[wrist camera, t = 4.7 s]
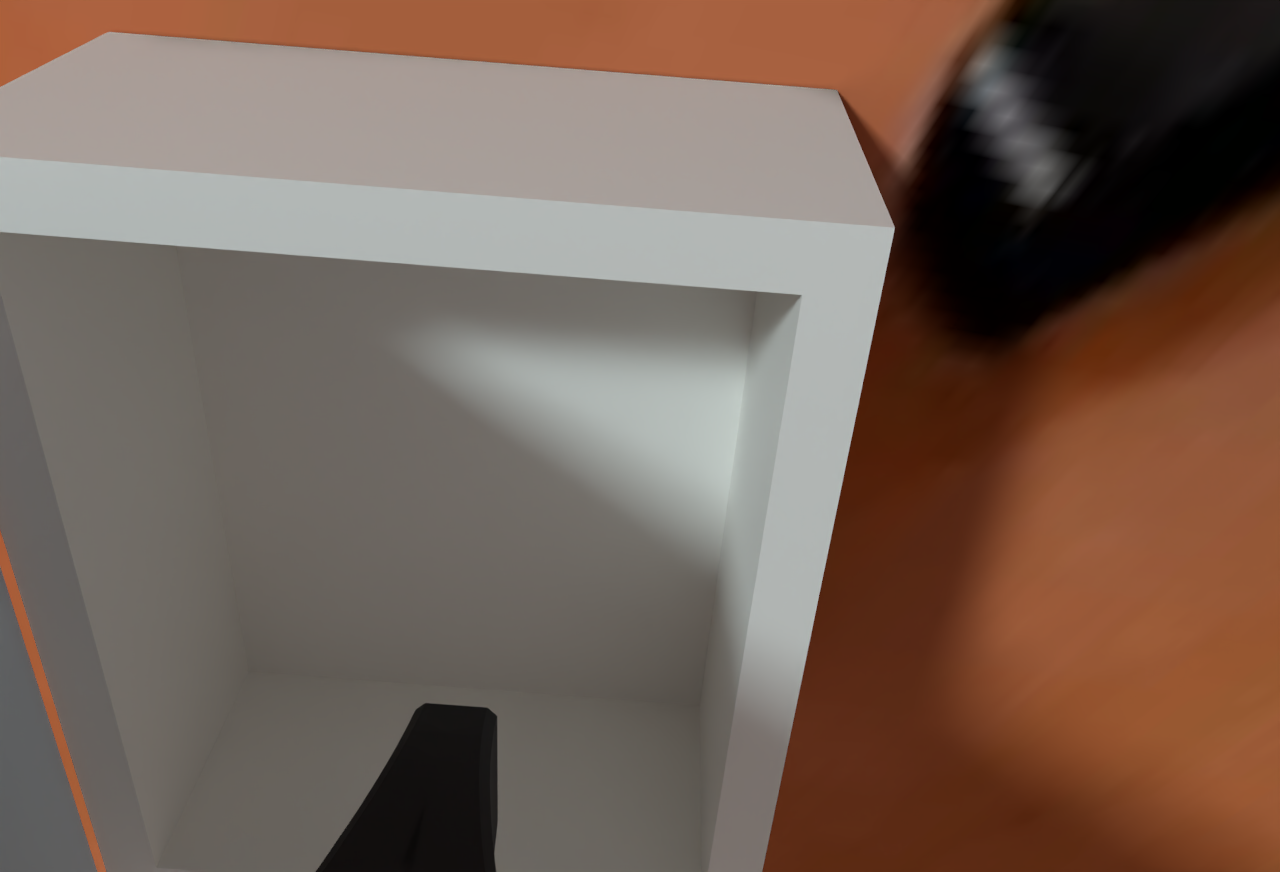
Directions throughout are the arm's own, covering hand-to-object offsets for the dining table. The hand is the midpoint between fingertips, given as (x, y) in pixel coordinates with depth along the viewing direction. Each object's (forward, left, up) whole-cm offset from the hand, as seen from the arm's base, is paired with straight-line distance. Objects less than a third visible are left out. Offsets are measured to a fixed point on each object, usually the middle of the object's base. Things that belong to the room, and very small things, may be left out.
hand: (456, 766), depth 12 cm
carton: (+1, 0, -7) cm, 7 cm away
